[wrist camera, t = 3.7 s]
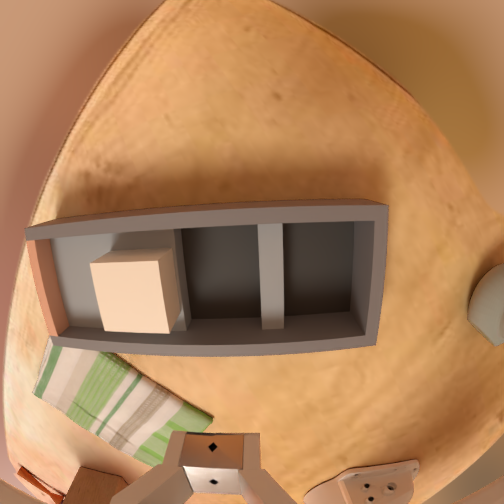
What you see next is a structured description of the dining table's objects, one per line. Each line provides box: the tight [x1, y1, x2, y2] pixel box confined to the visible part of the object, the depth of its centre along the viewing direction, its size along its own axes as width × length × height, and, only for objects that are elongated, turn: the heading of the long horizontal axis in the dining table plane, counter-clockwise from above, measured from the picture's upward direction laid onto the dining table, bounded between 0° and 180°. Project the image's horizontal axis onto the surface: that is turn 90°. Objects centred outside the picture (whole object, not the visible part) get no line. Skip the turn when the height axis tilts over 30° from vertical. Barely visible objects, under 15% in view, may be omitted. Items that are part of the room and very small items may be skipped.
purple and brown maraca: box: [17, 467, 64, 504], centre depth 43 cm, size 6×6×20 cm
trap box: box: [25, 199, 388, 357], centre depth 26 cm, size 32×12×6 cm, turn 93°
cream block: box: [90, 248, 180, 334], centre depth 24 cm, size 6×6×4 cm
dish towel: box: [32, 336, 213, 467], centre depth 32 cm, size 17×23×4 cm
